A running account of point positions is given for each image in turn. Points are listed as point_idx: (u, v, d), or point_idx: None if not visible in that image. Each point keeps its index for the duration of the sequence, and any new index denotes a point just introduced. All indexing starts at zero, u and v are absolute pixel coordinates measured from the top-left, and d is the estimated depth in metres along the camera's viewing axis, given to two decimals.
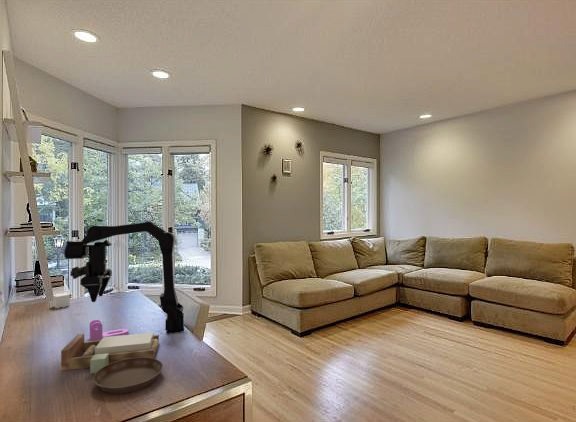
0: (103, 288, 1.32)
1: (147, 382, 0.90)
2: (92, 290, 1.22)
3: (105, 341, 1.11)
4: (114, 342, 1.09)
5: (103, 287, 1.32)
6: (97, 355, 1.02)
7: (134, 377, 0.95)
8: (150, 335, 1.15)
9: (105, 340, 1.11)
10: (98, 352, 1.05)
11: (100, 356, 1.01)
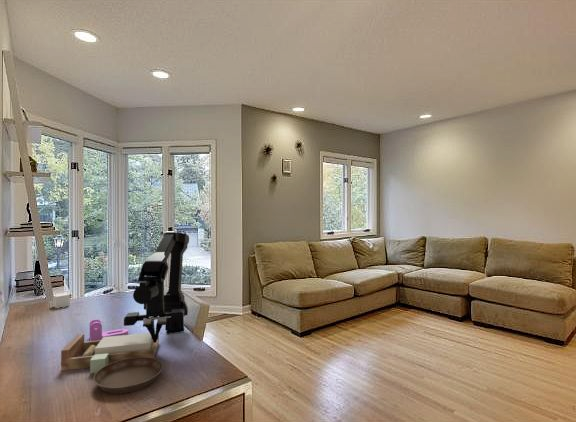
0: (155, 334, 1.13)
1: (147, 382, 0.90)
2: None
3: (105, 341, 1.11)
4: (114, 342, 1.09)
5: None
6: (97, 355, 1.02)
7: (134, 377, 0.95)
8: (150, 335, 1.15)
9: (105, 340, 1.11)
10: (98, 352, 1.05)
11: (100, 356, 1.01)
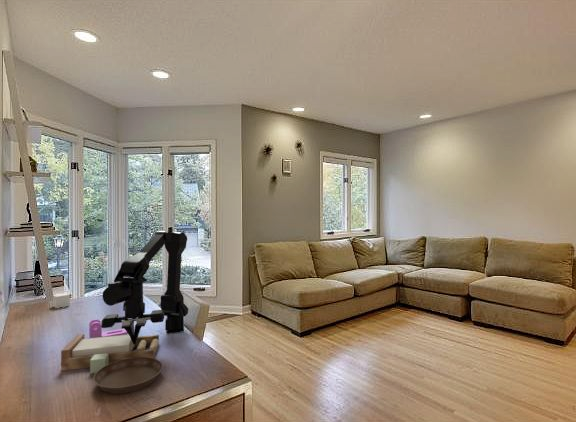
0: None
1: (147, 381, 0.90)
2: None
3: (83, 343, 1.09)
4: (92, 344, 1.08)
5: None
6: (97, 355, 1.02)
7: (134, 377, 0.95)
8: None
9: (83, 342, 1.10)
10: (76, 355, 1.03)
11: (100, 356, 1.01)
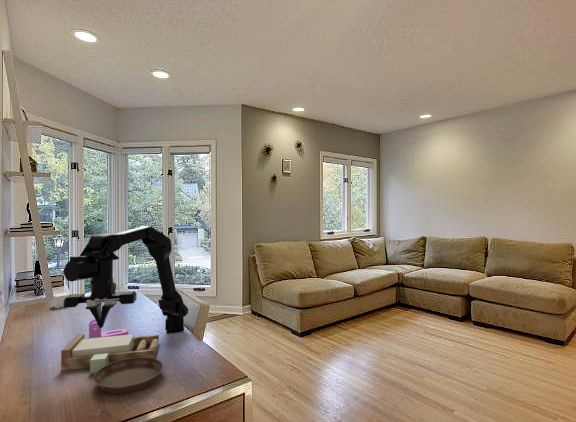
0: (101, 318, 1.00)
1: (148, 381, 0.90)
2: None
3: (83, 343, 1.09)
4: (92, 344, 1.08)
5: None
6: (97, 355, 1.02)
7: (134, 377, 0.95)
8: (130, 337, 1.14)
9: (83, 342, 1.10)
10: (76, 355, 1.03)
11: (100, 356, 1.01)
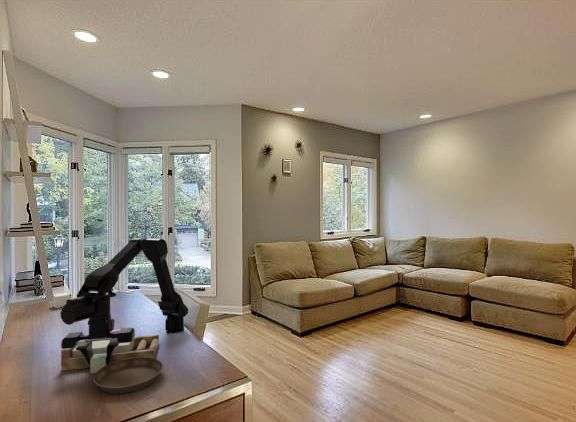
0: None
1: (148, 381, 0.90)
2: None
3: None
4: (92, 344, 1.08)
5: (107, 355, 1.00)
6: (97, 355, 1.02)
7: (134, 377, 0.95)
8: None
9: None
10: (76, 355, 1.03)
11: (100, 356, 1.01)
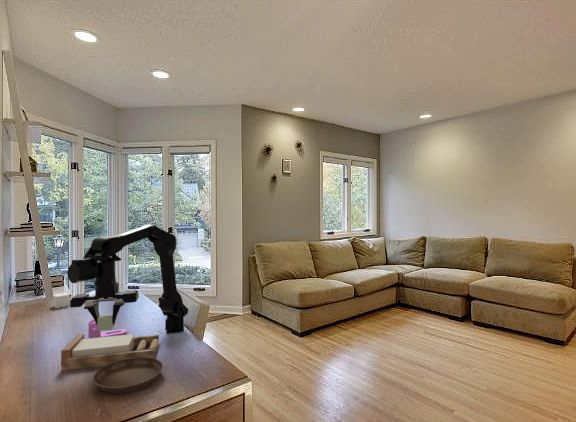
0: None
1: (148, 381, 0.90)
2: None
3: (83, 343, 1.09)
4: (92, 344, 1.08)
5: (113, 314, 1.07)
6: (103, 315, 1.08)
7: (134, 377, 0.95)
8: (130, 337, 1.14)
9: (83, 342, 1.10)
10: (76, 355, 1.03)
11: (106, 315, 1.07)
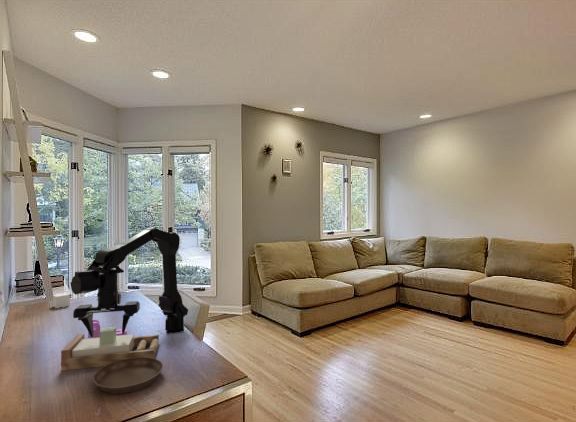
0: None
1: (148, 381, 0.90)
2: None
3: (83, 343, 1.09)
4: (92, 344, 1.08)
5: None
6: (105, 328, 1.11)
7: (134, 377, 0.95)
8: (130, 337, 1.14)
9: (83, 342, 1.10)
10: (76, 355, 1.03)
11: (108, 329, 1.10)
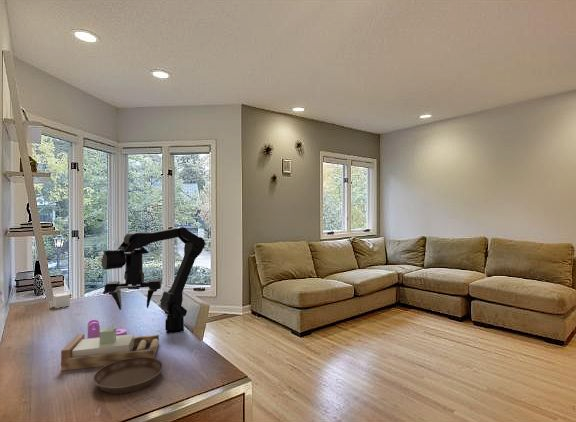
0: (147, 300, 1.24)
1: (148, 381, 0.90)
2: None
3: (83, 343, 1.09)
4: (92, 344, 1.08)
5: (147, 299, 1.24)
6: (105, 328, 1.11)
7: (134, 377, 0.95)
8: (130, 337, 1.14)
9: (83, 342, 1.10)
10: (76, 355, 1.03)
11: (108, 329, 1.10)
